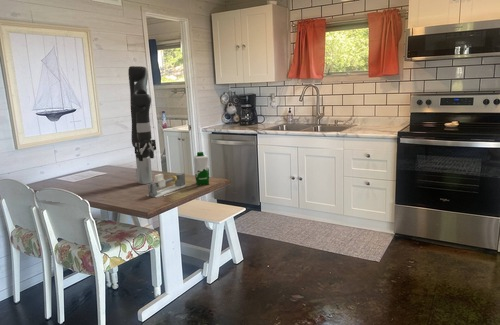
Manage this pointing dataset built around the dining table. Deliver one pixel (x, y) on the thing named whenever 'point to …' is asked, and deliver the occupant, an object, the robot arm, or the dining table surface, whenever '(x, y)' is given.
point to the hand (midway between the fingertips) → (146, 159)
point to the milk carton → (201, 169)
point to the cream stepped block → (159, 181)
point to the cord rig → (179, 183)
